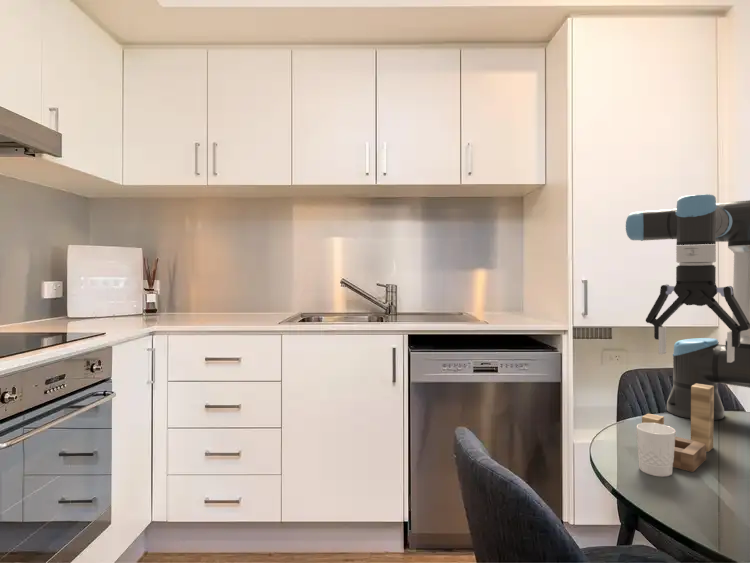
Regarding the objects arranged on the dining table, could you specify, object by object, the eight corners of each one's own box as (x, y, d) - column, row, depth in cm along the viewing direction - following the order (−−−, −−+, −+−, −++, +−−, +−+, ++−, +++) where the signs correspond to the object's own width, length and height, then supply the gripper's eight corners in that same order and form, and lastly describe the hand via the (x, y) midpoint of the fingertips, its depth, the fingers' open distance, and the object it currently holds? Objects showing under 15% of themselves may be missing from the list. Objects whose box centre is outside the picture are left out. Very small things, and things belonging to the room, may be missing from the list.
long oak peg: (695, 443, 133) (696, 383, 132) (713, 447, 130) (713, 386, 129) (690, 447, 130) (691, 386, 129) (708, 451, 127) (709, 389, 126)
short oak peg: (647, 438, 137) (647, 413, 136) (663, 442, 134) (663, 416, 133) (641, 442, 134) (642, 416, 134) (658, 446, 131) (658, 420, 131)
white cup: (670, 465, 119) (670, 423, 119) (679, 479, 112) (680, 435, 111) (633, 462, 122) (633, 421, 121) (640, 476, 114) (640, 432, 114)
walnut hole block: (661, 448, 130) (661, 433, 129) (706, 459, 122) (706, 443, 122) (646, 459, 123) (646, 443, 123) (692, 472, 115) (693, 455, 115)
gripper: (631, 264, 120) (631, 352, 122) (760, 264, 102) (758, 368, 103) (643, 263, 125) (643, 348, 127) (768, 263, 107) (766, 362, 108)
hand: (695, 357), depth 115 cm, fingers open, 13 cm apart
